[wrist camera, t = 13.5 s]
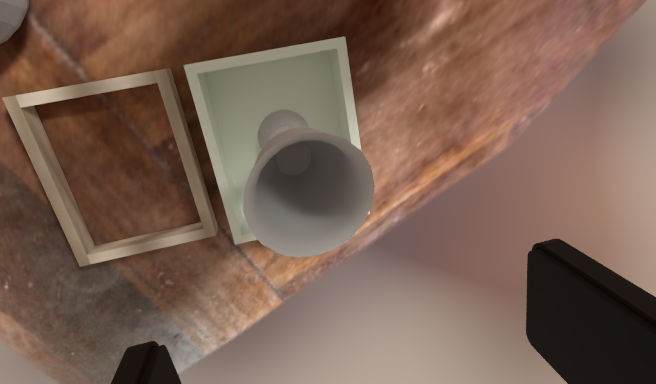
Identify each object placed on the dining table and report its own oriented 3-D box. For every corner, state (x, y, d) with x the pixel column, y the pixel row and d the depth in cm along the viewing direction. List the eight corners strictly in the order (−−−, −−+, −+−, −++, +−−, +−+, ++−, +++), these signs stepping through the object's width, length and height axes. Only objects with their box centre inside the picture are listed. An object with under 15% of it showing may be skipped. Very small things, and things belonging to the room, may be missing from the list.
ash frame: (170, 68, 34) (165, 68, 32) (218, 227, 40) (216, 235, 38) (16, 95, 33) (2, 97, 31) (88, 256, 39) (79, 266, 37)
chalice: (282, 185, 39) (304, 280, 22) (231, 137, 36) (213, 203, 20) (334, 134, 38) (399, 193, 21) (286, 82, 36) (317, 102, 19)
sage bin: (333, 39, 36) (345, 36, 31) (357, 196, 42) (370, 213, 37) (193, 64, 34) (183, 65, 30) (237, 223, 40) (235, 244, 36)
